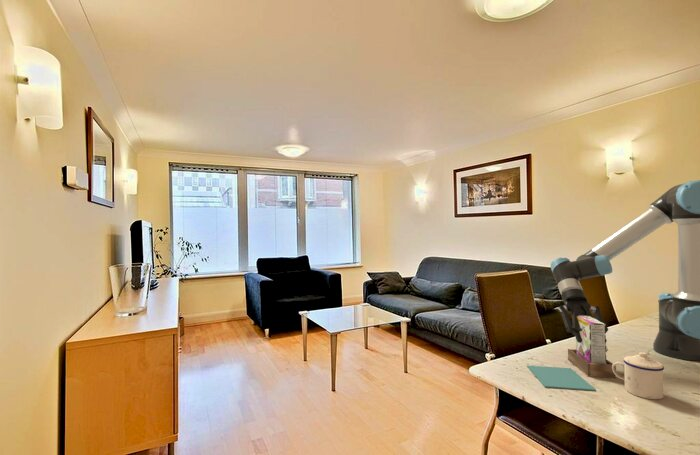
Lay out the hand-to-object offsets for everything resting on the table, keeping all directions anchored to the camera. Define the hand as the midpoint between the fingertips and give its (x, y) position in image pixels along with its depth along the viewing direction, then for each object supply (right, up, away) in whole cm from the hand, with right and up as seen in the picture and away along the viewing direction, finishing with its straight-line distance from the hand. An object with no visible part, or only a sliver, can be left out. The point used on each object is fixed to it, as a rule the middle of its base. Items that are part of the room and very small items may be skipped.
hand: (596, 351), depth 115 cm
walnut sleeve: (+1, -7, +4) cm, 8 cm away
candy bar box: (+1, -7, +4) cm, 8 cm away
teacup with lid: (+3, -7, -13) cm, 15 cm away
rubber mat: (-15, -7, -4) cm, 17 cm away
